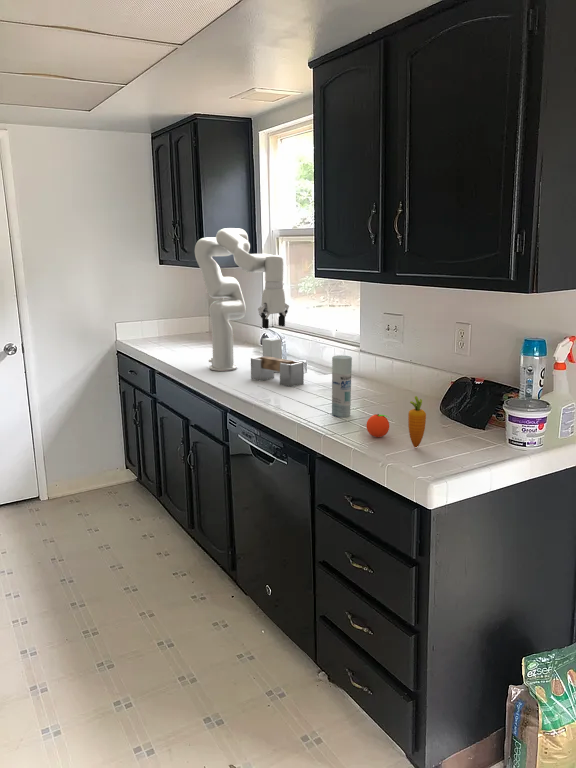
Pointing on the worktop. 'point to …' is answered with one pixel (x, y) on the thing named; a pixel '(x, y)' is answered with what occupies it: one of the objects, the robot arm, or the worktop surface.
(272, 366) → the walnut rail
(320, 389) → the worktop surface
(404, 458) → the worktop surface
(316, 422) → the worktop surface
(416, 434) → the carrot
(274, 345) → the skincare box
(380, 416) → the clementine
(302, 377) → the brackets
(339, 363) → the spray paint can
